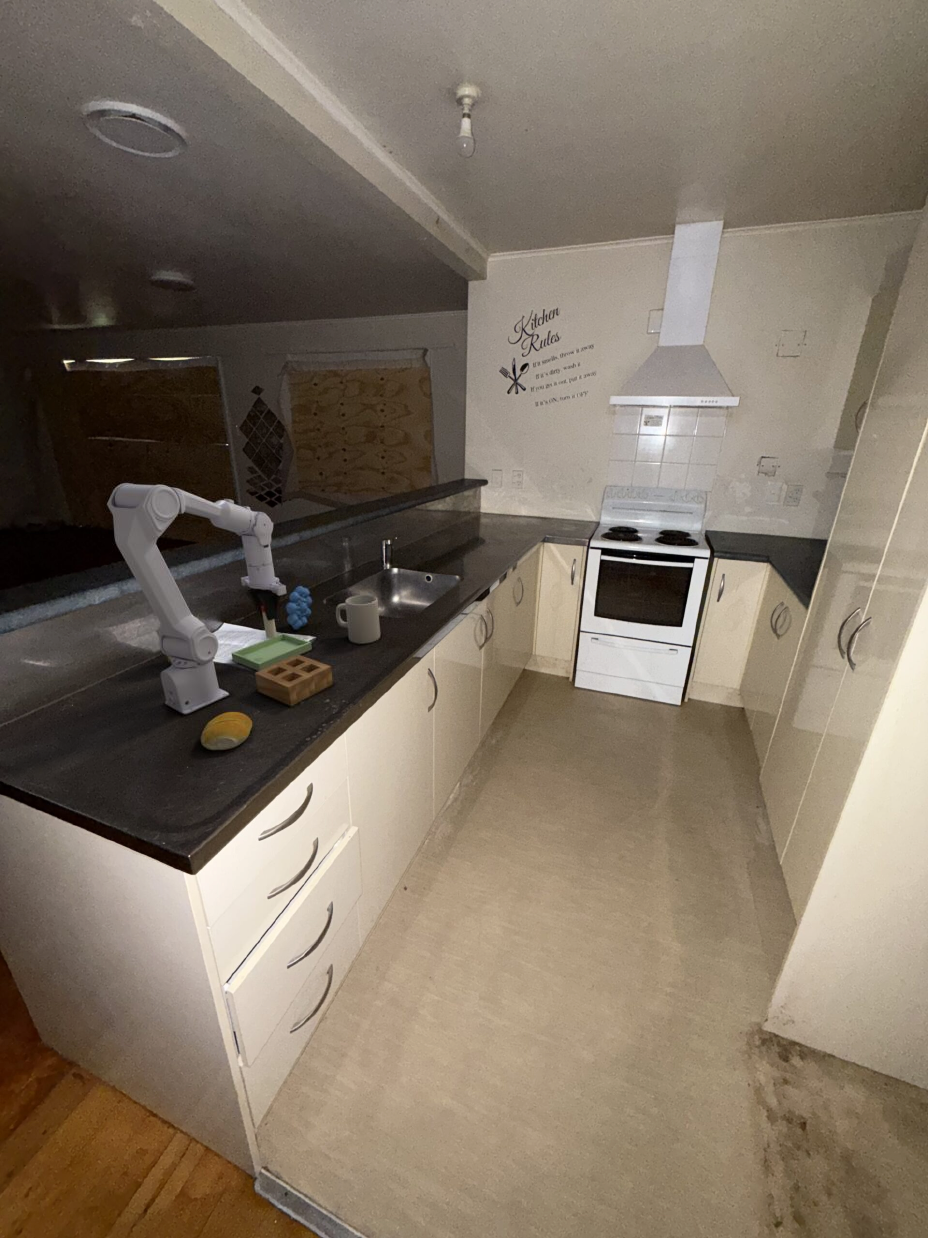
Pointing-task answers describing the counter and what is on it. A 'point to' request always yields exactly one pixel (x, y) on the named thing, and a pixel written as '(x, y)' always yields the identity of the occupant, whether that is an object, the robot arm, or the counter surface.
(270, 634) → the marker
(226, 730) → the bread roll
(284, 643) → the tray
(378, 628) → the mug
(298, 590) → the grapes
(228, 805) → the counter surface
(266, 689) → the pen holder
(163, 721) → the counter surface
